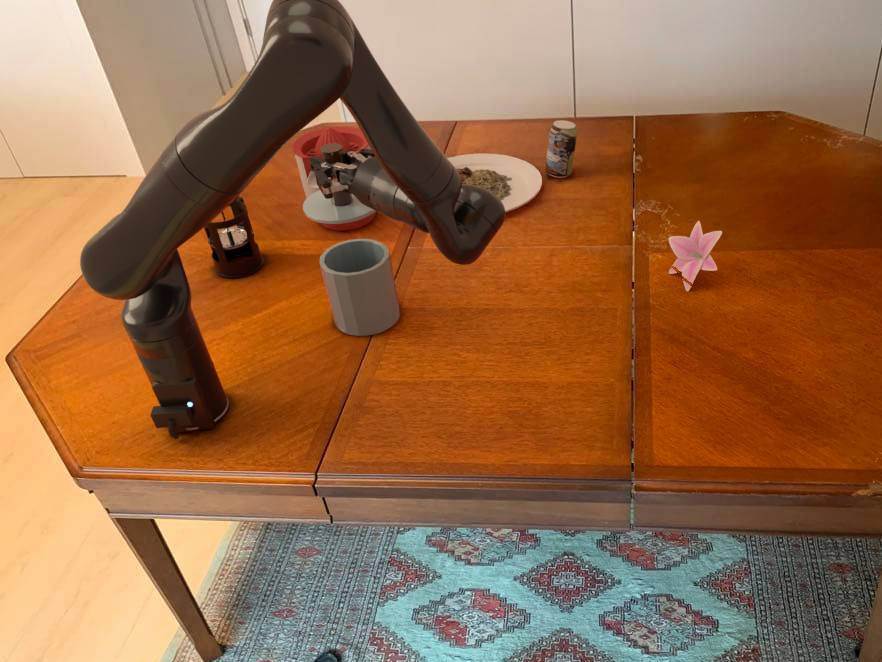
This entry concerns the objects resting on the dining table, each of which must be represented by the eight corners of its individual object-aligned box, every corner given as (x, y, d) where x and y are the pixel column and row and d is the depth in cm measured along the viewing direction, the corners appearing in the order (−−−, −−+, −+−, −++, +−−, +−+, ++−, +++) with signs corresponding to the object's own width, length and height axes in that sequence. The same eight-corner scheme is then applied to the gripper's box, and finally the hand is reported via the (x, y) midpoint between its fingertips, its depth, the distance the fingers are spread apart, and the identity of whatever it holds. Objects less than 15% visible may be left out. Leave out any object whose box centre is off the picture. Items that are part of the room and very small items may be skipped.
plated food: (557, 166, 187) (557, 153, 185) (520, 231, 165) (519, 216, 163) (436, 156, 194) (434, 142, 191) (386, 216, 172) (383, 202, 170)
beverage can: (541, 172, 185) (539, 121, 177) (569, 165, 187) (569, 114, 179) (552, 183, 181) (551, 131, 173) (582, 176, 183) (582, 124, 175)
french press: (248, 282, 155) (212, 170, 139) (204, 278, 156) (163, 167, 141) (276, 250, 163) (244, 141, 148) (233, 247, 165) (198, 138, 150)
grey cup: (399, 332, 141) (388, 271, 133) (333, 339, 140) (317, 278, 132) (400, 295, 150) (389, 235, 141) (337, 301, 149) (322, 242, 141)
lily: (667, 259, 157) (652, 230, 150) (726, 237, 154) (714, 206, 146) (680, 308, 151) (665, 280, 144) (741, 286, 148) (730, 257, 140)
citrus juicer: (294, 237, 167) (269, 145, 154) (330, 198, 179) (309, 109, 166) (364, 244, 164) (345, 150, 150) (395, 203, 176) (380, 113, 163)
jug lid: (381, 223, 126) (370, 161, 120) (300, 230, 126) (284, 169, 119) (383, 186, 136) (373, 127, 129) (308, 193, 135) (293, 134, 128)
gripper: (425, 149, 119) (354, 120, 128) (348, 183, 112) (278, 150, 121) (431, 195, 124) (362, 165, 133) (358, 231, 117) (290, 196, 126)
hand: (323, 158), depth 127 cm, fingers closed on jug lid, 3 cm apart
